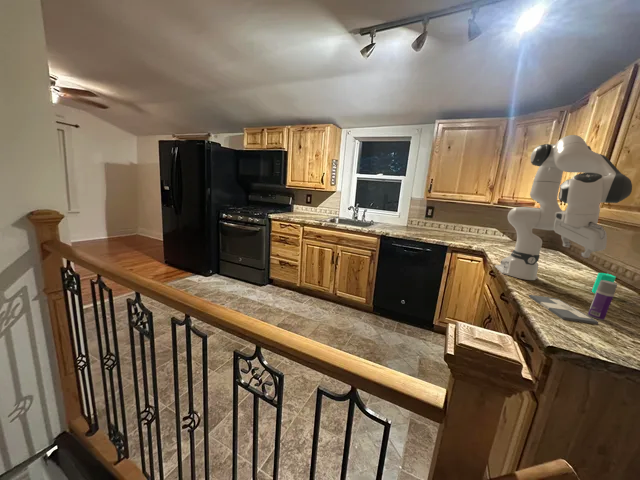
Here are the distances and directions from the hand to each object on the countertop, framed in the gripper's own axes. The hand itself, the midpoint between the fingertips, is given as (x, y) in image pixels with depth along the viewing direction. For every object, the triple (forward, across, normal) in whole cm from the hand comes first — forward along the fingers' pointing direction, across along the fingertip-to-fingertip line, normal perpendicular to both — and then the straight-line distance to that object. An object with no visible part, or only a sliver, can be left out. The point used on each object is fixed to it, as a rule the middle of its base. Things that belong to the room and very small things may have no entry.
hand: (575, 251), depth 99 cm
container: (+27, -7, -6) cm, 29 cm away
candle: (+41, +24, -32) cm, 57 cm away
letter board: (+25, -3, +5) cm, 25 cm away
